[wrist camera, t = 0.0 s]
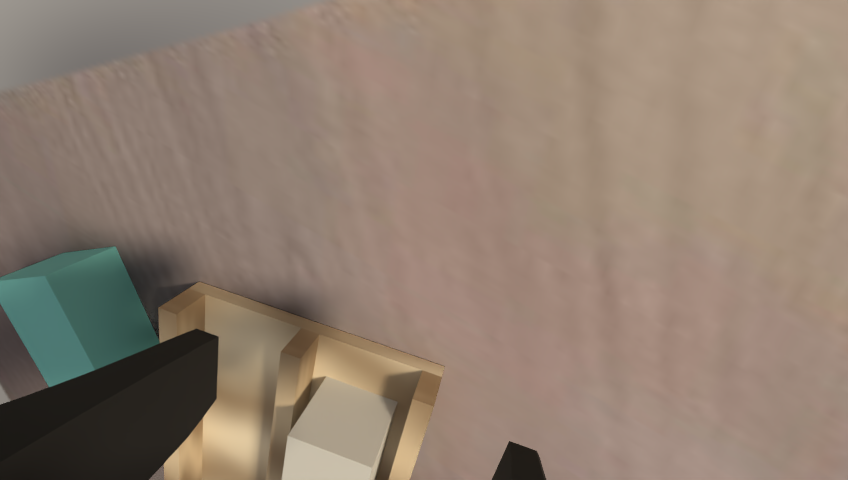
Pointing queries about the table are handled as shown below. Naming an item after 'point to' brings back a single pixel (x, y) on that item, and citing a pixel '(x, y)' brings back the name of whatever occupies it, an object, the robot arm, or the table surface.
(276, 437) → the slotted board
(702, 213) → the table surface
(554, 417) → the table surface
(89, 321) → the tall teal pillar
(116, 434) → the robot arm
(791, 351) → the table surface
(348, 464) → the tall cream brick
